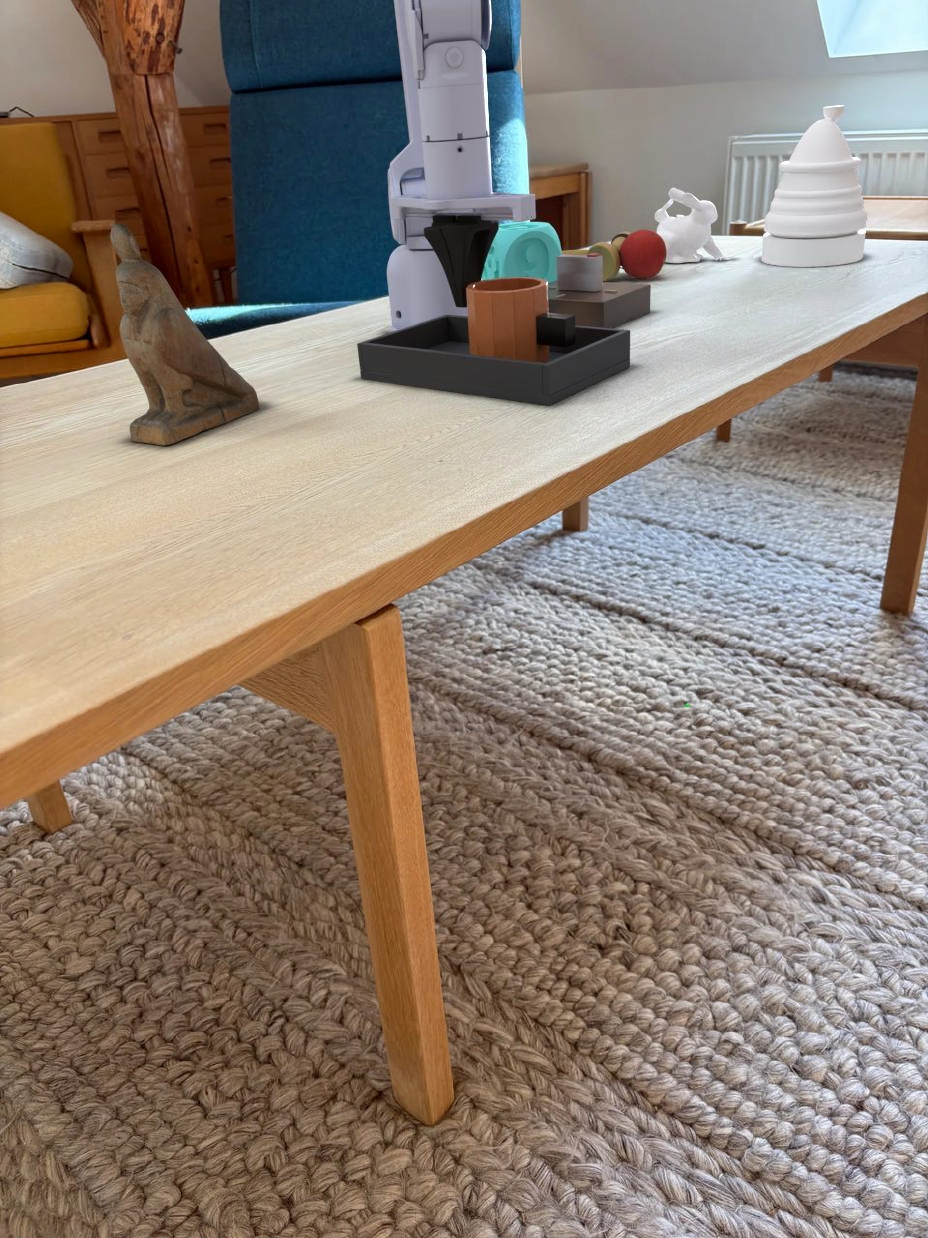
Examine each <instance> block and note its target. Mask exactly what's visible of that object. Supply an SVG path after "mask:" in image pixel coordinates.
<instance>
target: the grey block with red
mask: <svg viewBox="0 0 928 1238" xmlns="http://www.w3.org/2000/svg"><path fill="white" fill-rule="evenodd" d="M603 282H604V281H603V256H600V253H591V254H588V255H569V254H563V255H560V256H557V289H558V290H574V291H590V292H597V291H600V290H602V289H603Z"/></svg>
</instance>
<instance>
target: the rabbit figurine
mask: <svg viewBox="0 0 928 1238" xmlns="http://www.w3.org/2000/svg"><path fill="white" fill-rule="evenodd" d="M667 195H668V198H669V200H668V201H667V202H666V203H665V204H663V205H662V207H661V208H659V209H657V210H656V211H655V213H654V220H655V222H657V223H658V226H657V227H656V231H655V232H656V233H657V234H659V235H660V236H661V238H662V239H663V240H664V242H665V245H666V252H667V254H666V260H665V263H670V264H683V263H698V262H700V260H704V258H705V256H704V254H703V253H702V252H698V250H700V249H703V250H704V251H705V252H706V253H707V254H709V255H710V256H711V257H713V258H714V259H715V261H729V260H731V259H733V257H732V256H730V255H728V256H726V255H724V254H723V252H722V250H721V249H720V247H719V246H718V244H717V242H716V241H715V239H714V238H713V236H712V227H711V225H712V224H713V223H715V222H716V221H717V220H718V211H717V208H716V206H715V204H714V203H713V202H711V201H710V200H705V199H702V200H699V199H698V198H697V197H696V196H694V194H693V193H691V192H685V191H683V190H681V189H678V188H676V187H671V188H670V189H669V191H668V193H667ZM674 201H675V202H678V203H681V204H682V205H684V206H686V207H688V208H689V209H691V211H690V213H689V214H687V215H683V214H676V217H675V216H669V214H668V212H667V210H668V209H669V208H670V207H671V206H672V205H673V203H674Z"/></svg>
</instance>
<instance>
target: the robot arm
mask: <svg viewBox="0 0 928 1238" xmlns="http://www.w3.org/2000/svg"><path fill="white" fill-rule="evenodd" d="M393 4H394V6H393V7H394V13H395V14H394V15H395V22H396V32H397V40H398V49H399V57H400V58H399V59H400V60H399V61H400V67H401V77H402V87H403V94H404V102H405V112H406V122H407V131H408V139H409V143H408V144H407V145H406V146H405V147H404V148H403V149H402V150H401V152H399V153H398V154H397V155H396V156H395V157H394V158H393V159H392V160H391V161H390V162H389V168H388V169H387V185H388V186H387V195H388V206H389V208H388V209H389V217H390V224H391V231H392V232H391V233H392V237H393V239H394V240H395V241H396V242H397V243H398V244H399V246H398V247H396V248H395V249H393V251H392V252H391V254H390V256H389V259H388V262H387V267H386V280H387V291H388V299H389V300H388V301H389V309H390V310H389V311H390V320H391V326H390V327H387V328H386V329H387V333H391V332H394V331H397V330H400V329H403V328H406V327H409V326H413V325H416V324H419V323H422V322H425V321H428V320H431V319H434V318H437V317H440V316H443V315H458V316H468V312H467V296H466V288H467V286H468V285H469V284H471V283H475V282H478V281H481V280H482V274H483V270H484V266H485V262H486V259H487V256H488V253H489V250H490V247H491V245H492V242H493V240H494V238H495V236H496V234H497V232H498V230H499V225H500V222H499V221H512V222H513V223H519V222H529V221H531V220H536V218H537V214H536V212H537V211H536V194H535V193H514V192H513V193H512V192H510V193H509V192H496V191H493V179H492V161H491V159H492V158H491V141H490V139H491V138H490V125H489V124H490V121H489V104H488V102H489V101H488V84H487V83H488V82H487V81H488V80H487V63H486V52H485V51H487V50H488V49H489V46H490V40H491V31H492V3H491V0H393ZM481 45H482V46H481Z"/></svg>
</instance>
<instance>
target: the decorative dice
mask: <svg viewBox="0 0 928 1238" xmlns="http://www.w3.org/2000/svg"><path fill="white" fill-rule="evenodd" d="M562 251H563V250H562V247H561V241H560V238H559V235H558V233H557V232H556V230H555V228H554V227H553V226H552V225H551V224H550V223H549V222H543V221H524V222H509V223H501V224H499V230H498V232H497V234H496V236H495V238H494V240H493V242H492V245H491V247H490V250H489V253H488V256H487V259H486V262H485V266H484V270H483V274H482V279H481V280H488V279H495V278H505V277H532V278H540V279H543V280H546V281H548V283H550V282H553V281H556V280H557V256H560V255H562Z"/></svg>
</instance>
